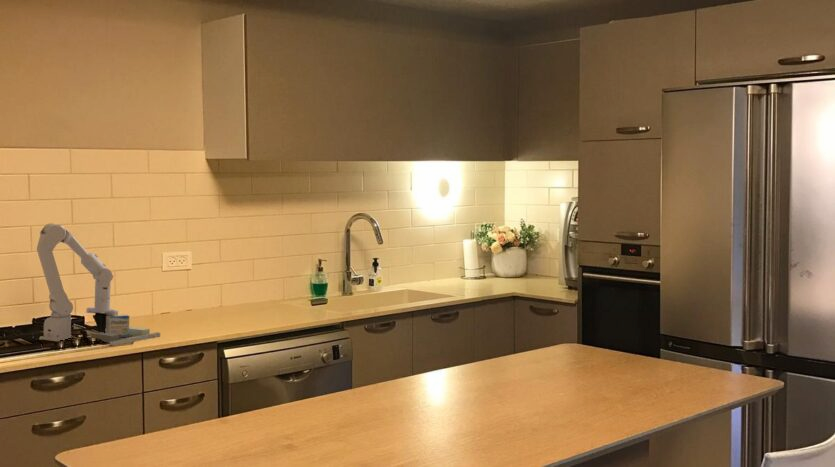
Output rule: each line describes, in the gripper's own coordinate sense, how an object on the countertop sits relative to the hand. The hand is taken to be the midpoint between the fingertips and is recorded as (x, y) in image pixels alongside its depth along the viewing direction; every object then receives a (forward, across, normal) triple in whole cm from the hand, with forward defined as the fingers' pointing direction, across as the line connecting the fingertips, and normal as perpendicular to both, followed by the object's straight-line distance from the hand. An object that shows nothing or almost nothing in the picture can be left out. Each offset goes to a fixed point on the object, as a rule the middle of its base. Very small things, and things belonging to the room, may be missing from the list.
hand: (101, 332), depth 359 cm
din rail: (+1, -17, 0) cm, 17 cm away
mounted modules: (+1, -10, 0) cm, 10 cm away
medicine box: (+2, -7, -2) cm, 7 cm away
